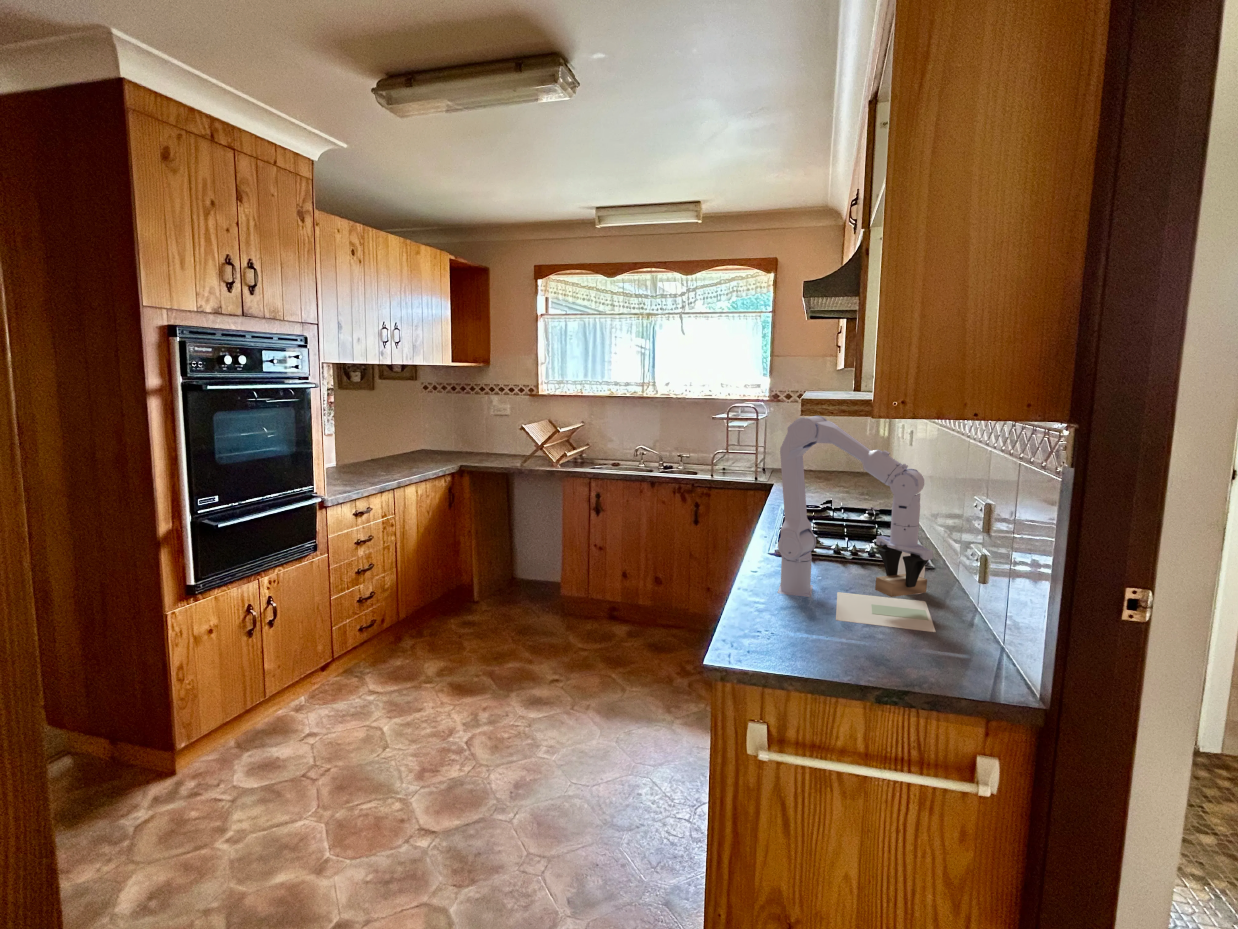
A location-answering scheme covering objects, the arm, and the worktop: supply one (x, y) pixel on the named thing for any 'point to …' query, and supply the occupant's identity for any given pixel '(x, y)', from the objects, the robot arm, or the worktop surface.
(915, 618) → the mat
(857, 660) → the worktop surface
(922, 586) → the tissue box
